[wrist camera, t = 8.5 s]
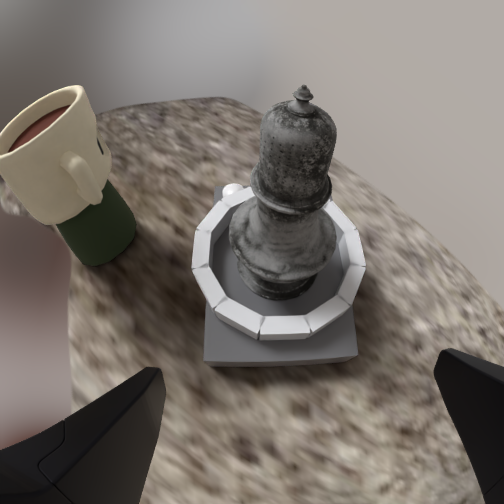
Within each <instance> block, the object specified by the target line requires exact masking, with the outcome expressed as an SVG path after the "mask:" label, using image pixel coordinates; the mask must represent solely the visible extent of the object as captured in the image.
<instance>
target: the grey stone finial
mask: <svg viewBox="0 0 504 504" xmlns="http://www.w3.org/2000/svg"><path fill="white" fill-rule="evenodd" d="M293 96H294V97H295V98H296V100H291V101H286V102H281V103H278V104H276V105H274V106H272V107H271V108H270V109H269V110H268V111H267V112H266V113H265V114H264V116H263V118H262V121H261V124H260V159H259V162H258V163H257V164H256V166H255V167H254V168H253V170H252V172H251V175H250V186H251V188H252V191H253V193H254V195H255V196H253V197H251V198H249V199H248V200H247V201H245V202H244V203H243V204H241V205H240V206H239V208H238V209H237V210H236V212H235V213H234V214H233V217H232V219H231V222H230V225H229V240H230V244H231V247H232V250H233V252H234V254H235V255H236V257H237V268H238V271H239V275H240V277H241V279H242V281H243V282H244V284H245V285H246V286H247V287H248V288H249V289H250V290H251V291H252V292H253V293H255V294H257V295H259V296H261V297H263V298H266V299H270V300H274V301H278V300H289V299H293V298H296V297H298V296H300V295H302V294H303V293H305V292H306V291H307V290H308V289H309V288H310V287H311V286H312V285H313V283H314V281H315V279H316V277H317V275H318V272H319V271H321V270H322V269H323V268H324V267H325V266H326V264H327V263H328V262H329V261H330V260H331V257H332V255H333V253H334V251H335V248H336V240H337V236H336V230H335V225H334V223H333V221H332V220H331V218H330V216H329V214H328V213H327V212H326V211H325V210H324V209H323V206H324V205H325V204H326V203H327V202H328V200H329V198H330V196H331V193H332V184H331V180H330V177H329V176H328V170H329V167H330V163H331V159H332V155H333V151H334V147H335V143H336V136H337V134H336V133H337V132H336V126H335V124H334V122H333V120H332V119H331V117H330V116H329V115H328V113H326V112H325V111H324V110H322V109H321V108H319V107H318V106H316V105H314V104H312V103H310V102H309V100H312V98H313V95H312V94H311V93H310V90H309V89H308V88H307V86H306V85H302V86H301V87H300V88H298V90H297V91H295V92H294V93H293Z"/></svg>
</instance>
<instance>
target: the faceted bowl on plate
mask: <svg viewBox="0 0 504 504" xmlns="http://www.w3.org/2000/svg"><path fill="white" fill-rule="evenodd" d="M253 196H255V195H254V193H253V191H252V188H251V186H241V185H239V184H229V185H227V186H215V194H214V204H213V208H212V210H211V211H210V212H209V213H208V215H207V216H206V217H205V218H204V219H203V221H202V222H201V223H200V224H199V226H198V227H197V230H196V231H195V239H194V248H193V257H192V267H191V268H192V272H193V274H194V277H195V279H196V281H197V283H198V285H199V287H200V289H201V291H202V293H203V294H204V296H205V298H206V313H205V333H204V359H203V361H204V362H205V363H206V364H208V365H209V366H214V367H274V366H298V365H313V364H326V363H337V362H346V361H348V360H350V359H352V358H354V357H356V356H358V348H357V339H356V330H355V322H354V315H353V307H352V303H353V300H354V298H355V295H356V293H357V290H358V287H359V285H360V282H361V280H362V277H363V274H364V272H365V269H366V268H365V266H366V264H365V259H364V255H363V250H362V246H361V241H360V237H359V233H358V230H356V229H357V228H356V227H355V226H354V224H353V223H352V222H351V221H350V220H349V219H348V218H347V217H346V215H345V214H344V213H343V212H342V211H341V210H340V209H339V208H338V207H337V205H336V204H335V203H334V202H333V200H332V196H330V198H329V200H328V202H327V203H326V204H325V205H324V206H323V209H324V210H325V211H326V212H327V213H328V214H329V216H330V218H331V220H332V221H333V223H334V225H335V230H336V236H337V240H336V248H335V251H334V253H333V255H332V257H331V260H330V261H329V262H328V263H327V264H326V266H325V267H324V268H323V269H322V270H321V271H319V272H318V275H317V277H316V279H315V281H314V283H313V285H312V286H311V287H310V288H309V289H308V290H307V291H306V292H305V293H303V294H302V295H300V296H298V297H296V298H293V299H289V300H278V301H274V300H270V299H266V298H263V297H261V296H259V295H257V294H255V293H253V292H252V291H251V290H250V289H249V288H248V287H247V286H246V285H245V284H244V282H243V281H242V279H241V277H240V275H239V271H238V268H237V257H236V255H235V254H234V252H233V250H232V247H231V244H230V240H229V225H230V222H231V219H232V217H233V214H234V213H235V212H236V210H237V209H238V208H239V206H240V205H241V204H243V203H244V202H245V201H247V200H248V199H249V198H251V197H253Z"/></svg>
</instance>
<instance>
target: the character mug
mask: <svg viewBox="0 0 504 504" xmlns="http://www.w3.org/2000/svg"><path fill="white" fill-rule="evenodd" d="M111 167H112V157H111V153H110V150H109V149H108V147H107V145H106V144H105V142H104V140H103V138H102V136H101V134H100V132H99V130H98V128H97V124H96V116H95V114H94V113H93V111H92V109H91V106H90V103H89V101H88V98H87V95H86V93H85V91H84V89H83V87H82V86H80V85H74V86H69V87H65V88H62V89H59V90H57V91H54V92H52V93H50V94H48V95H46V96H44V97H42V98H41V99H39V100H37V101H36V102H34V103H33V104H32V105H30V106H29V107H27V108H26V109H24V110H23V111H22V112H20V113H19V114H18V115H17V116H16V117H15V118H14V119H13V120H12V121H11V122H10V123H9V124H8V125H7V126H6V127H5V128H4V129H3V131H2V132H1V133H0V175H1V176H2V177H3V179H4V180H5V182H6V183H7V184H8V186H9V187H10V188H11V190H12V191H13V192H14V194H15V195H16V196H17V197H18V199H19V200H20V201H21V203H22V204H23V205H24V206H25V208H26V209H27V210H28V211H29V212H30V214H31V215H32V216H33V217H34V218H35V219H36V220H38V221H40V222H42V223H43V224H45V225H49V224H56V226H57V228H58V229H59V231H60V233H61V234H62V236H63V238H64V239H65V241H66V243H67V244H68V246H69V247H70V248H71V250H72V251H73V252H74V254H75V255H76V256H77V257H78V259H79V260H80V261H81V262H82V263H83V264H86V265H92V266H97V265H100V264H103V263H106V262H109V261H111V260H112V259H113V258H115V257H116V256H117V255H119V254H120V253H121V252H122V251H124V249H125V248H126V247H127V246H128V245H129V243H130V242H131V241H132V240H133V239H134V235H135V229H136V225H137V224H136V221H135V218H134V215H133V213H132V211H131V210H130V208H129V207H128V205H127V204H126V202H125V201H124V200H123V198H122V197H121V196H120V194H119V193H118V192H117V191H116V189H115V188H114V187H113V186H112V184H111V183H110V182H109V180H108V176H109V174H110V170H111Z"/></svg>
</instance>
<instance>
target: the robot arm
mask: <svg viewBox="0 0 504 504" xmlns="http://www.w3.org/2000/svg"><path fill="white" fill-rule="evenodd" d="M434 377H435V380H436V382H437V385H438V387H439V390H440V392H441V395H442V398H443V400H444V403H445V406H446V408H447V410H448V413H449V415H450V417H451V419H452V421H453V423H454V425H455V427H456V429H457V432H458V434H459V436H460V438H461V441H462V443H463V445H464V447H465V450H466V452H467V455H468V457H469V459H470V462H471V464H472V467H473V469H474V472H475V475H476V477H477V480H478V483H479V485H480V488H481V491H482V494H483V498H484V501H485V504H504V367H502V366H500V365H497V364H494V363H491V362H488V361H486V360H483V359H480V358H477V357H475V356H472V355H469V354H466V353H464V352H461V351H458V350H455V349H453V348H448V349H444V350H442V351H441V352H440V354H439V357H438V359H437V362H436V365H435V368H434ZM165 397H166V387H165V383H164V379H163V374H162V371H161V369H160V368H157V367H146V368H144V369H143V370H141V371H140V372H138V373H137V374H135V375H134V376H132V377H130V378H129V379H127V380H126V381H124V382H123V383H121V384H120V385H118V386H117V387H115V388H113V389H112V390H110V391H109V392H107V393H106V394H104V395H102V396H101V397H99V398H98V399H96V400H94V401H93V402H91V403H90V404H88V405H86V406H85V407H83V408H82V409H80V410H78V411H77V412H75V413H73V414H72V415H70V416H69V417H67V418H65V420H62V421H60V422H58V423H57V424H55V425H53V426H52V427H50V428H48V429H46V430H44V431H42V432H41V433H39V434H37V435H34V436H32V437H30V438H28V439H26V440H24V441H21V442H19V443H16V444H14V445H12V446H9V447H7V448H5V449H2V450H0V504H139V502H140V498H141V495H142V491H143V488H144V484H145V481H146V477H147V474H148V470H149V467H150V464H151V460H152V457H153V454H154V450H155V447H156V444H157V440H158V436H159V431H160V426H161V420H162V414H163V408H164V403H165Z"/></svg>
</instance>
